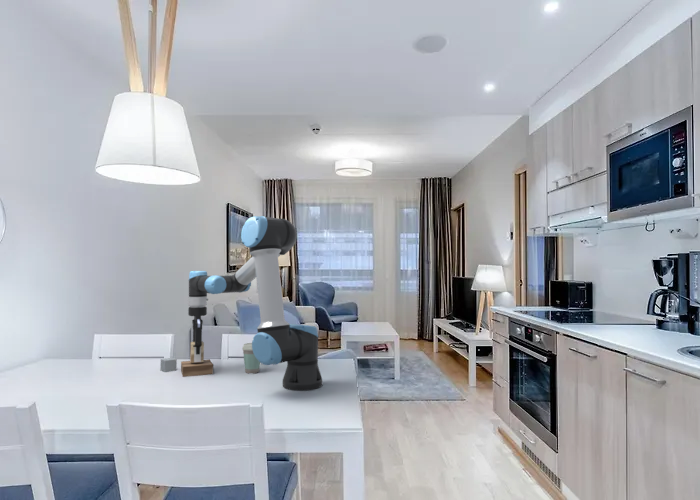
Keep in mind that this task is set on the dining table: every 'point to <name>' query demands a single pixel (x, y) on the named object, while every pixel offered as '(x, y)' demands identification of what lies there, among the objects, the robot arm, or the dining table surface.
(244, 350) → the coffee cup
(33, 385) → the dining table surface
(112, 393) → the dining table surface
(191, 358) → the oak column block
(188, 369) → the walnut base slab
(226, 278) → the robot arm
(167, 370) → the slate grey block
